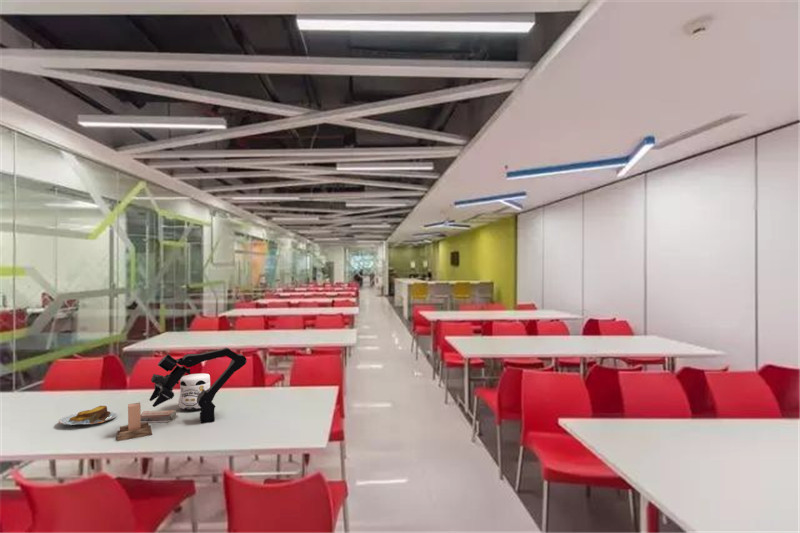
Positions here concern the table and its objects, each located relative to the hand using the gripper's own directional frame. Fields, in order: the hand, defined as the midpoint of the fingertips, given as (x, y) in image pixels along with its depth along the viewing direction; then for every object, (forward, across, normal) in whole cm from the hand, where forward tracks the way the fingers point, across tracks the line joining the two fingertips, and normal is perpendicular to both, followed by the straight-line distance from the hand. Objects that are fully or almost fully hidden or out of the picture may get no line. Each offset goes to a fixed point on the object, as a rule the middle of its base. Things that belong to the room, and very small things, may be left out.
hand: (151, 403), depth 218 cm
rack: (+15, 0, +3) cm, 15 cm away
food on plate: (+28, -36, -7) cm, 46 cm away
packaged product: (+8, -16, +14) cm, 22 cm away
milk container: (-5, -25, +30) cm, 39 cm away
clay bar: (+14, 0, +3) cm, 14 cm away
